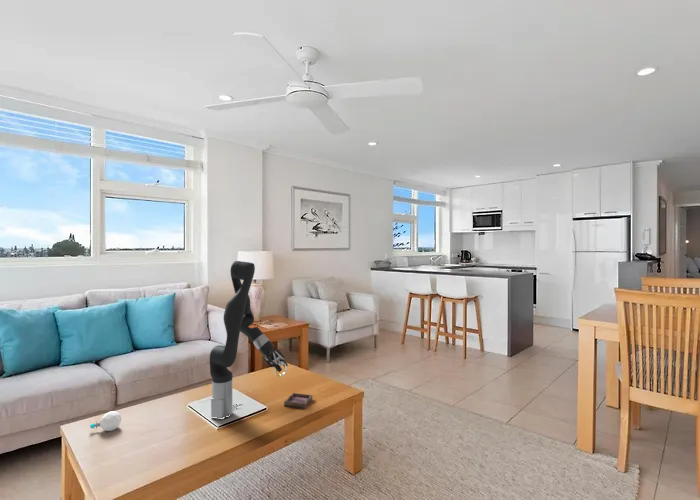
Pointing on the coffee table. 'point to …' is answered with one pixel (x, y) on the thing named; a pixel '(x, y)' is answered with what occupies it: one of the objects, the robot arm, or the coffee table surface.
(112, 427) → the perfume bottle
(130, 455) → the coffee table surface
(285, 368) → the ring
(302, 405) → the jewellery tray
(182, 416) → the coffee table surface
